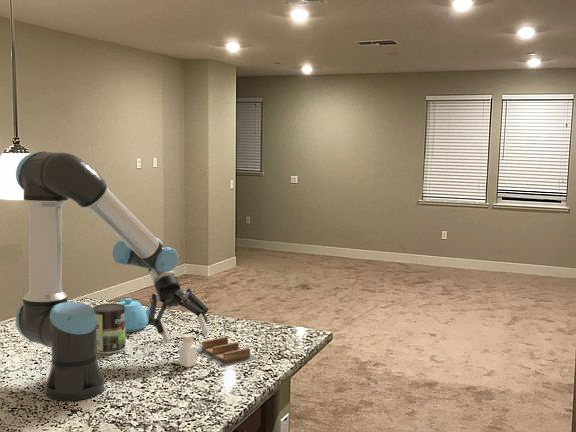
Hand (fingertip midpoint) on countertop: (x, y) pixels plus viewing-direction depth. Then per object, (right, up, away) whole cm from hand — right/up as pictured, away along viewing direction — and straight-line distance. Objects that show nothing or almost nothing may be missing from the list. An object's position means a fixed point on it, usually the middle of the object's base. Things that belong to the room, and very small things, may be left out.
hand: (187, 337), depth 193 cm
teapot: (-27, -3, +36) cm, 45 cm away
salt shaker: (+1, -8, -2) cm, 9 cm away
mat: (+11, -7, +7) cm, 15 cm away
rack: (+11, -7, +7) cm, 15 cm away
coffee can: (-27, -6, +12) cm, 31 cm away
